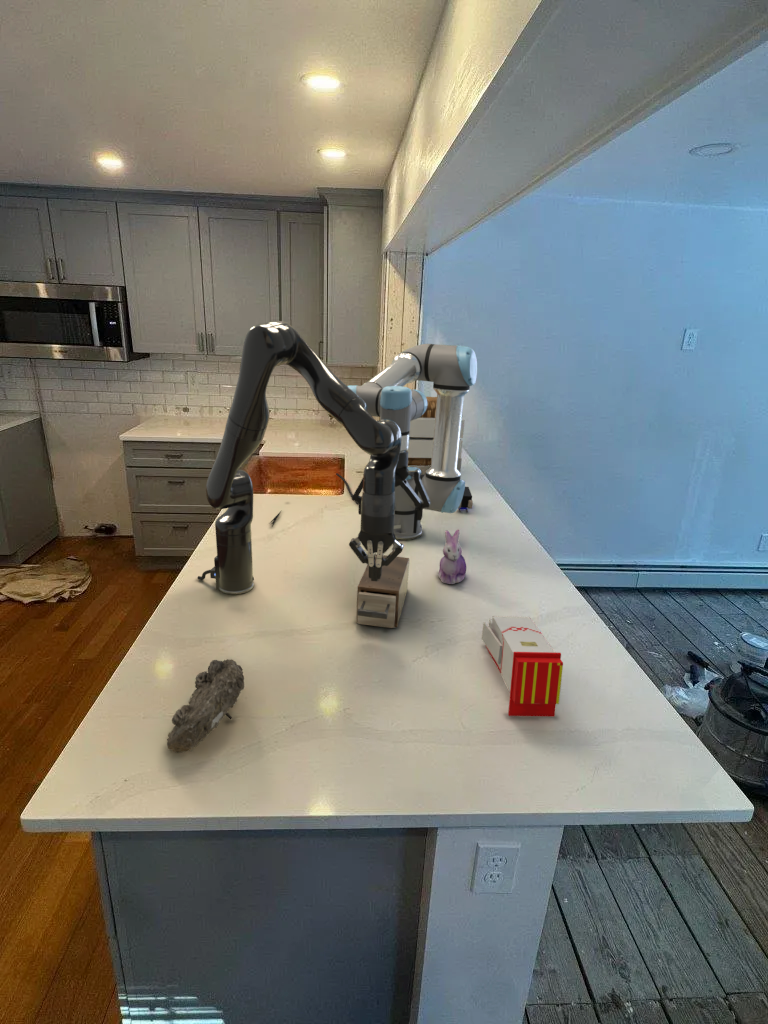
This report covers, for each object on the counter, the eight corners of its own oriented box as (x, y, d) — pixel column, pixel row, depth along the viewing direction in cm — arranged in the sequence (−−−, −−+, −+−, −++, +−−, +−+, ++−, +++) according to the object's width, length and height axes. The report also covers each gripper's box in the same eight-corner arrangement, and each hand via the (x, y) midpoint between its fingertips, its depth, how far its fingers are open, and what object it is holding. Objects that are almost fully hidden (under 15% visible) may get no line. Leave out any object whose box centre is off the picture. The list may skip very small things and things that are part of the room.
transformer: (382, 463, 289) (386, 382, 275) (445, 464, 293) (451, 384, 279) (390, 482, 257) (394, 392, 243) (460, 483, 261) (468, 394, 247)
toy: (528, 601, 136) (572, 659, 107) (523, 653, 139) (565, 722, 110) (478, 600, 136) (508, 657, 107) (474, 652, 139) (503, 722, 109)
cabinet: (397, 627, 141) (399, 591, 138) (356, 622, 143) (357, 586, 139) (407, 591, 160) (409, 557, 156) (371, 586, 161) (372, 553, 158)
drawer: (390, 641, 134) (391, 610, 131) (352, 636, 135) (352, 605, 132) (403, 593, 156) (405, 565, 154) (371, 589, 158) (372, 562, 155)
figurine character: (472, 517, 222) (467, 501, 236) (475, 500, 219) (469, 484, 233) (455, 517, 222) (451, 500, 236) (457, 499, 219) (452, 484, 232)
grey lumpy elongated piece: (192, 660, 117) (244, 628, 112) (224, 691, 120) (276, 661, 115) (142, 746, 98) (202, 712, 93) (182, 779, 101) (242, 748, 96)
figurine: (448, 588, 162) (452, 539, 157) (429, 573, 171) (432, 527, 166) (475, 582, 166) (480, 534, 161) (455, 568, 175) (459, 522, 170)
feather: (288, 505, 226) (290, 501, 226) (271, 529, 199) (273, 524, 199) (284, 503, 226) (287, 499, 225) (266, 526, 199) (269, 522, 199)
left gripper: (345, 512, 124) (343, 583, 130) (405, 518, 122) (400, 590, 128) (352, 501, 131) (350, 569, 137) (409, 507, 129) (405, 576, 135)
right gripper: (341, 449, 140) (340, 528, 147) (442, 457, 137) (435, 538, 144) (348, 442, 147) (346, 519, 154) (444, 450, 144) (437, 528, 151)
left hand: (375, 579), depth 132 cm, fingers closed
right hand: (389, 528), depth 149 cm, fingers open, 13 cm apart
